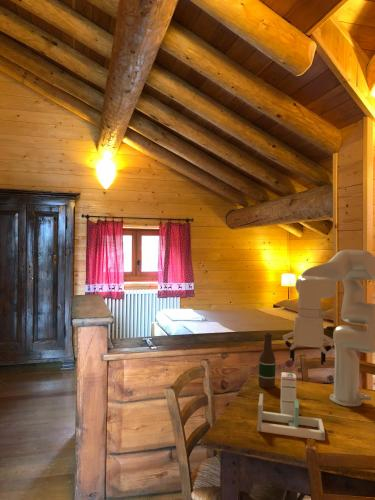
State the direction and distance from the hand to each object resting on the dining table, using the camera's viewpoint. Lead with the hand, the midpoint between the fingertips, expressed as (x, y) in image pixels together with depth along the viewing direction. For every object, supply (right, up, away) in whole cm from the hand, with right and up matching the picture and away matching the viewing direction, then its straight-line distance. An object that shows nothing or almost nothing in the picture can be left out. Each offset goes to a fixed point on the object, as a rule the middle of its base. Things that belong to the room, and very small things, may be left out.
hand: (307, 362), depth 133 cm
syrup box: (-3, -24, +15) cm, 28 cm away
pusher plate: (-5, -24, +1) cm, 24 cm away
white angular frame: (-6, -24, +1) cm, 24 cm away
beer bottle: (-5, -24, +43) cm, 49 cm away
